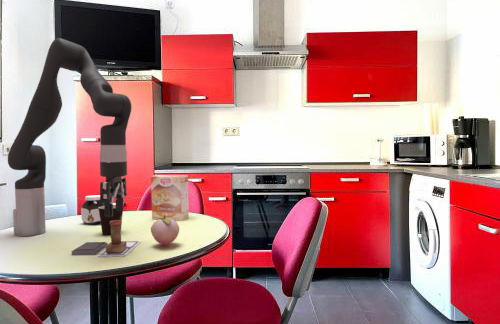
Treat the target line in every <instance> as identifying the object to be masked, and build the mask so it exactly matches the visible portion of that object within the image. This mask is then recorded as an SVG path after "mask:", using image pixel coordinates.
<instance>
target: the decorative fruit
mask: <svg viewBox="0 0 500 324" xmlns="http://www.w3.org/2000/svg"><path fill="white" fill-rule="evenodd" d="M150 233H151V235H152V237H153V239H154V240H155V241H156V242H157V243H158V244H160V245H162V246H164V247H167V246H169V244H172V243H173V242H174V241H175V240H177V238H178V235H179V233H180V226H179V224H178V221H175V220H173V219H169V218H165V215H164V217H162V218H159V219H158V220H156V219H155V221H154V222H153V223H152V224H151V227H150Z"/></svg>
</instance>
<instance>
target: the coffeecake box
mask: <svg viewBox="0 0 500 324" xmlns="http://www.w3.org/2000/svg"><path fill="white" fill-rule="evenodd" d="M150 177H151V178H150V180H151V183H150V184H151V189H150V190H151V220H155V221H156V220H158V219H159V218H162V217H164V215H165V218H169V219H173V220H176V222H178V221H179V222H183V221H184V219H185V220H188V219H189V218H190V217H189V216H190V214H189V213H190V212H189V206H190V205H189V175H182V174H181V175H180V174H179V175H177V174H165V175H164V174H155V175H151V176H150ZM182 220H183V221H182Z"/></svg>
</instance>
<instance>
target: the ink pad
mask: <svg viewBox="0 0 500 324" xmlns="http://www.w3.org/2000/svg"><path fill="white" fill-rule="evenodd" d="M107 244H109V243H108V242H107V241H92V242H91V241H88V242H87V241H86V242H84V243H83V244H81V245H79V246H78V247H76V248H75V249H73V250H71V256H92V255H93V256H94V255H97V254H100V252H101V251H103V250H104V249H106V245H107Z"/></svg>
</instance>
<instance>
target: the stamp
mask: <svg viewBox="0 0 500 324" xmlns="http://www.w3.org/2000/svg"><path fill="white" fill-rule="evenodd" d="M122 222H123V219H122V220H113V221H110V225H111V235H110V240H111V241H110V242H109V243H108V244H107V245H106V248H105V250H106V252H107V254H121V253H122V252H123V251H125V250H126V241H127V240H125V241H124V240H122V226H121V224H123V223H122Z"/></svg>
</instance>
